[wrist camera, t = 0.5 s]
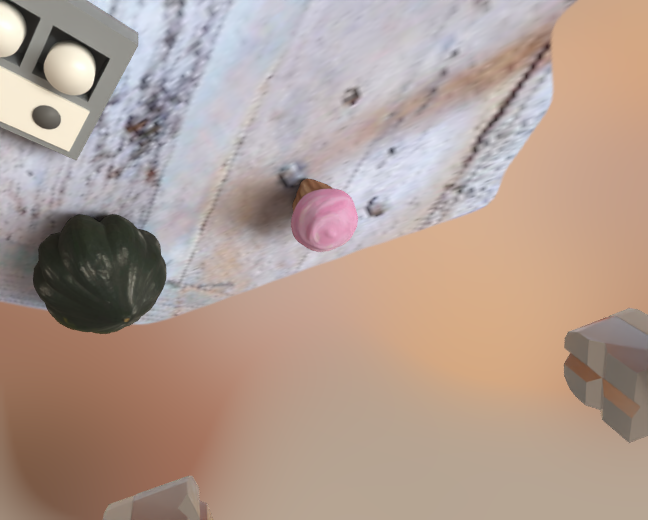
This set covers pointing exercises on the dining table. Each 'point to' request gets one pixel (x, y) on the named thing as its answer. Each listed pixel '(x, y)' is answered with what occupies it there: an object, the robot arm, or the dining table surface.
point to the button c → (70, 67)
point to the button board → (39, 95)
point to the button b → (11, 28)
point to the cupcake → (322, 216)
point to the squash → (99, 273)
